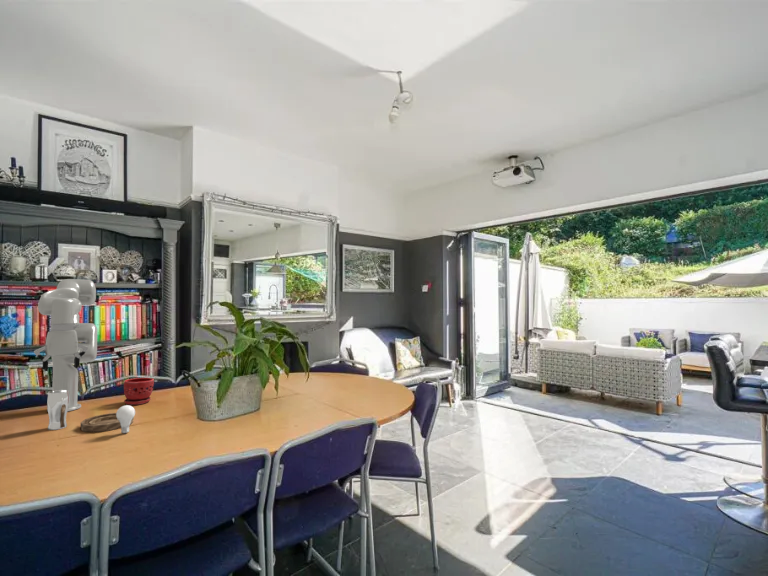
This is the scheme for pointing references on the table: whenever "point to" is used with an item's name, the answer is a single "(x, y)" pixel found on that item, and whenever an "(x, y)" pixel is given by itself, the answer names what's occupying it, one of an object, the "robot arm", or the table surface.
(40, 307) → the robot arm
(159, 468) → the table surface
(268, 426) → the table surface
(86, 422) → the tray
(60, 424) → the beer glass
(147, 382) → the plant pot
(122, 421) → the lightbulb
